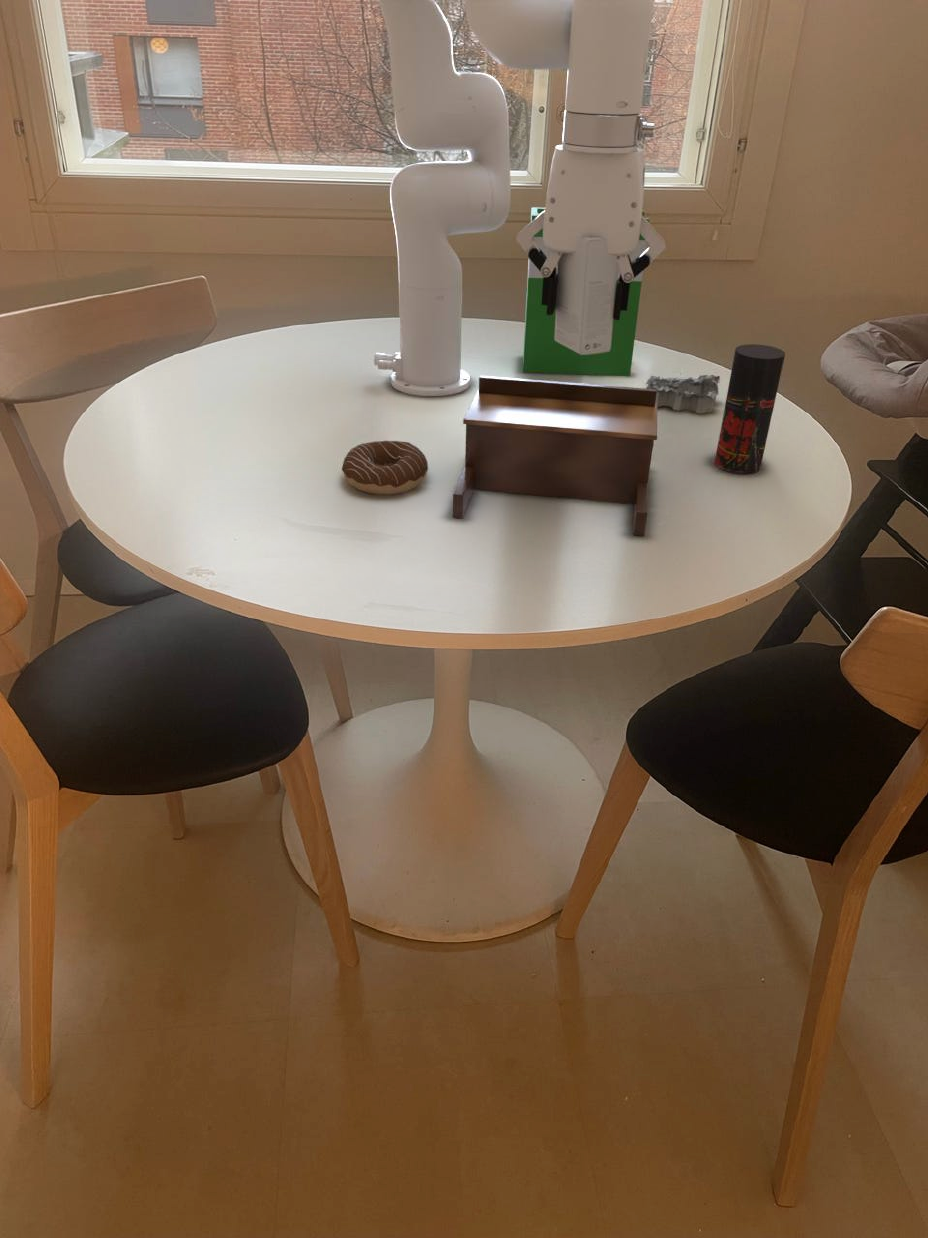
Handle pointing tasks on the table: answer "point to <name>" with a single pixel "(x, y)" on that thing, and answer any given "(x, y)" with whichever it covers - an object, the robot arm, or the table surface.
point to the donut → (385, 467)
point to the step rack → (559, 442)
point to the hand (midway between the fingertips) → (583, 313)
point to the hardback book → (556, 357)
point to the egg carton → (686, 392)
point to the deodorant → (749, 408)
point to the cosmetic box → (586, 297)
